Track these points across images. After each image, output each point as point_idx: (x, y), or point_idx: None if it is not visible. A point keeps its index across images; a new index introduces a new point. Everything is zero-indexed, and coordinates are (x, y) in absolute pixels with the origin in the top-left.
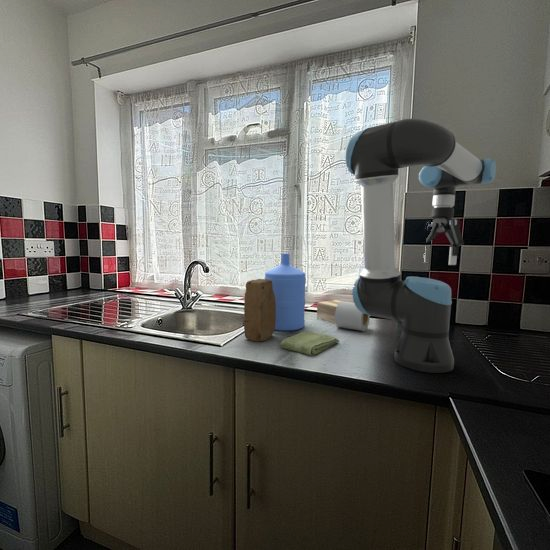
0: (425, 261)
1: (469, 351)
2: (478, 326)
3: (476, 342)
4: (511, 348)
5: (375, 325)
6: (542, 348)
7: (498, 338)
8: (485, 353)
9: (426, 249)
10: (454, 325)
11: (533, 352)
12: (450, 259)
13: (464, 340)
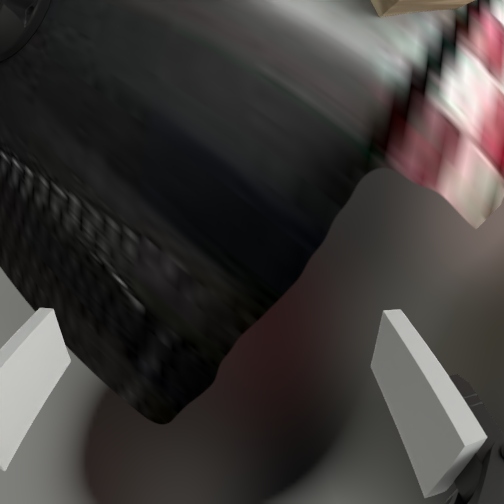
0: (384, 326)
1: (30, 144)
2: (226, 350)
3: (80, 216)
4: (43, 261)
5: (303, 18)
6: None
7: (110, 302)
8: (19, 172)
9: (437, 422)
10: (249, 292)
11: (26, 282)
12: (16, 333)
13: (97, 196)
